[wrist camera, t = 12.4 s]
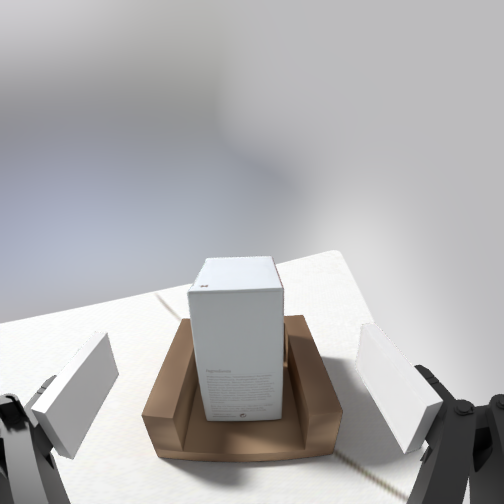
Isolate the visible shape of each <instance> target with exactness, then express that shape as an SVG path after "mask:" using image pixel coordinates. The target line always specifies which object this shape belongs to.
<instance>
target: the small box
mask: <svg viewBox="0 0 504 504" xmlns="http://www.w3.org/2000/svg"><path fill="white" fill-rule="evenodd" d="M187 296H188V304H189V312H190V320H191V328H192V336H193V344H194V351H195V358H196V365H197V371H198V377H199V383H200V389H201V395H202V400H203V405H204V410H205V415H206V419H207V421H260V420H277V419H281V418H282V397H283V348H284V288H283V285H282V282H281V280H280V277H279V274H278V271H277V268H276V266H275V263H274V260H273V258H272V257H271V256H259V257H230V258H207V259H206V260H205V263H204V265H203V267H202V269H201V271H200V273H199V274H198V276H197V278H196V280H195V282H194V283H193V285H192V286H191V287H190V289H189V290H188V292H187Z"/></svg>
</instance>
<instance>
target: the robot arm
mask: <svg viewBox="0 0 504 504" xmlns="http://www.w3.org/2000/svg"><path fill="white" fill-rule="evenodd" d="M355 369H356V370H357V372H358V374H359V375H360V377H361V379H362V380H363V382H364V384H365V386H366V387H367V389H368V391H369V392H370V394H371V396H372V398H373V399H374V401H375V403H376V405H377V406H378V408H379V410H380V411H381V413H382V415H383V417H384V418H385V420H386V422H387V424H388V426H389V427H390V429H391V431H392V433H393V434H394V436H395V438H396V440H397V442H398V443H399V445H400V447H401V449H402V451H403V452H404V454H406V453H409V452H412V451H415V450H418V449H420V448H421V446H422V444H423V442H424V440H426V441H427V443H428V444H429V446H428V448H427V450H426V451H425V453H424V455H423V456H422V458H421V460H420V461H423V462H422V465H421V468H420V470H419V473H418V476H417V479H416V481H415V484H414V487H413V489H412V492H411V494H410V497H409V499H408V501H407V504H462V502H463V499H464V494H465V490H466V486H467V481H468V477H469V486H470V504H504V394H498V395H495V396H493V397H492V398H491V400H490V402H489V404H488V405H484V406H477V407H475V406H474V405H473V404H472V403H471V402H469V401H466V400H456V399H454V397H453V396H452V395H451V394H450V392H449V391H448V390H447V389H446V388H445V387H444V386H443V385H442V384H441V383H439V380H438V379H437V378H436V377H434V375H433V374H432V373H431V371H430V370H429V369H427V368H425V367H423V366H422V365H416V366H413V365H412V364H411V362H410V361H409V360H408V359H407V358H406V357H405V356H404V354H403V353H402V352H401V351H400V350H399V349H398V348H397V347H396V346H395V345H394V343H393V342H392V341H391V340H390V339H389V338H388V337H387V335H386V334H385V333H384V332H383V331H382V330H381V329H380V328H379V327H378V326H377V324H376V323H369V324H362V326H361V334H360V341H359V347H358V353H357V359H356V365H355ZM118 375H119V373H118V370H117V366H116V363H115V360H114V356H113V353H112V349H111V345H110V341H109V338H108V334H107V332H94V333H93V335H92V336H91V337H90V338H89V339H88V340H87V341H86V342H85V344H84V345H83V346H82V347H81V348H80V349H79V351H78V352H77V353H76V354H75V355H74V356H73V357H72V359H71V360H70V361H69V362H68V363H67V365H66V366H65V367H64V368H63V369H62V370H61V372H60V373H59V374H58V375H57V376H56V375H54V376H52V377H51V378H49V379H48V380H46V381H45V383H44V384H43V385H42V386H41V388H40V389H39V390H38V391H37V393H35V395H34V396H33V397H32V398H31V400H30V401H29V402H28V403H27V404H26V406H25V407H24V408H23V407H22V405H21V403H20V401H19V399H18V397H17V396H16V395H14V394H4V395H1V396H0V504H71V503H70V501H69V499H68V496H67V494H66V491H65V489H64V486H63V483H62V481H61V478H60V475H59V472H58V469H57V466H56V463H55V460H54V457H53V455H52V453H51V452H50V451H51V449H52V448H53V447H54V448H55V450H56V451H57V453H58V454H59V455H60V456H63V457H66V458H69V459H74V457H75V455H76V453H77V451H78V449H79V447H80V445H81V443H82V441H83V439H84V438H85V436H86V434H87V432H88V430H89V428H90V426H91V424H92V422H93V420H94V419H95V417H96V415H97V413H98V411H99V409H100V408H101V406H102V404H103V402H104V400H105V398H106V397H107V395H108V393H109V391H110V390H111V388H112V386H113V384H114V382H115V381H116V379H117V377H118Z"/></svg>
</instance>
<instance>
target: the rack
mask: <svg viewBox="0 0 504 504" xmlns="http://www.w3.org/2000/svg"><path fill="white" fill-rule="evenodd" d="M342 413H343V411H342V408H341V406H340V403H339V401H338V398H337V396H336V393H335V391H334V388H333V386H332V383H331V381H330V378H329V376H328V374H327V371H326V369H325V366H324V364H323V361H322V359H321V357H320V354H319V352H318V349H317V347H316V345H315V342H314V340H313V337H312V335H311V333H310V330H309V328H308V325H307V323H306V321H305V318H304V316H303V315H295V316H284V348H283V397H282V418H281V419H277V420H260V421H207V419H206V415H205V410H204V405H203V400H202V395H201V389H200V383H199V377H198V371H197V365H196V358H195V351H194V344H193V336H192V328H191V320H190V319H182V321H181V323H180V326H179V328H178V330H177V332H176V335H175V337H174V339H173V342H172V344H171V346H170V348H169V351H168V353H167V355H166V358H165V360H164V362H163V365H162V367H161V369H160V372H159V374H158V376H157V379H156V381H155V383H154V386H153V388H152V391H151V393H150V395H149V398H148V400H147V403H146V405H145V408H144V410H143V412H142V418H143V421H144V423H145V426H146V429H147V431H148V434H149V436H150V439H151V441H152V444H153V446H154V449H155V451H156V454H157V456H158V457H163V458H171V459H182V460H194V461H214V462H255V461H275V460H287V459H298V458H306V457H314V456H321V455H328V454H332V453H333V450H334V446H335V442H336V438H337V434H338V430H339V426H340V422H341V417H342Z"/></svg>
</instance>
